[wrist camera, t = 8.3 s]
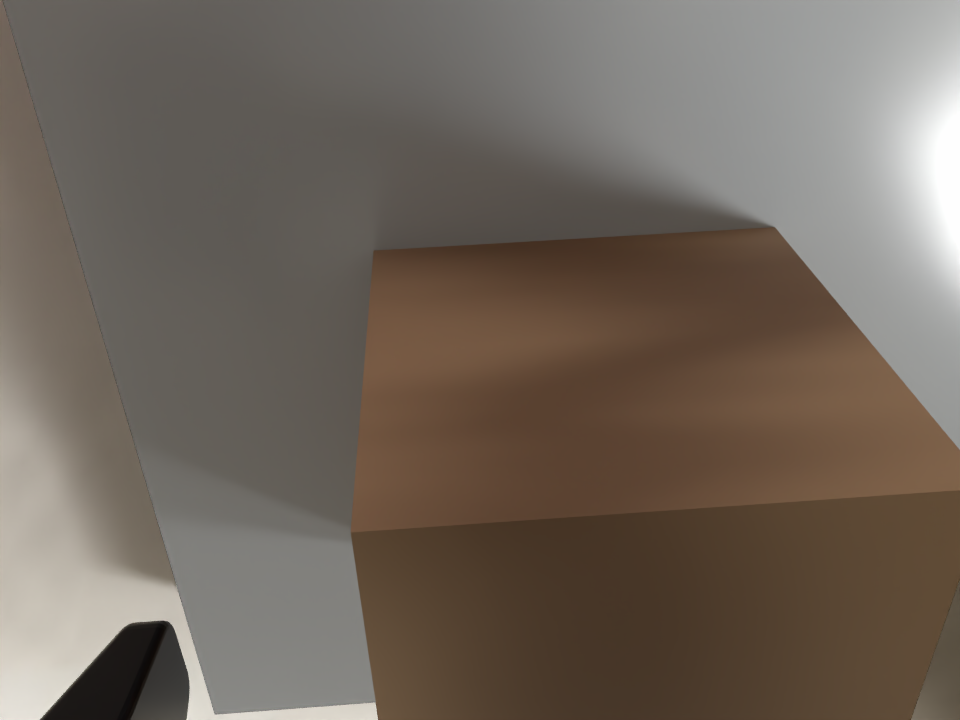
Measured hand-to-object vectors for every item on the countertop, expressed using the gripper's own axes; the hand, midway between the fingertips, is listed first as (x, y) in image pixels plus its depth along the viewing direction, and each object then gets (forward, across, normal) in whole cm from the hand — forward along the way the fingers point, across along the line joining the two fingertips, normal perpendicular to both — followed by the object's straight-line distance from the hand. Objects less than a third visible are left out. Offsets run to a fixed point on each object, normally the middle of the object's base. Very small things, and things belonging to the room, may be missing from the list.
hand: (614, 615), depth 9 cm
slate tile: (+6, 0, 0) cm, 6 cm away
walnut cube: (+4, 0, 0) cm, 4 cm away
